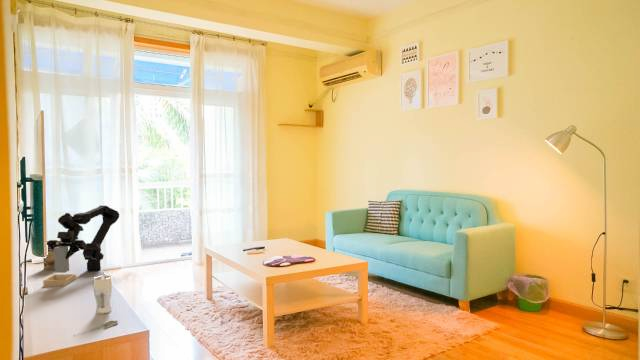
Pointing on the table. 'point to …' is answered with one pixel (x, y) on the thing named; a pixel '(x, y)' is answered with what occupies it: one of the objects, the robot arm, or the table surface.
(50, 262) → the coffee box
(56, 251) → the slate block
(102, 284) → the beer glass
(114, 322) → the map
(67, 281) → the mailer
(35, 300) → the table surface
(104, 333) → the table surface
